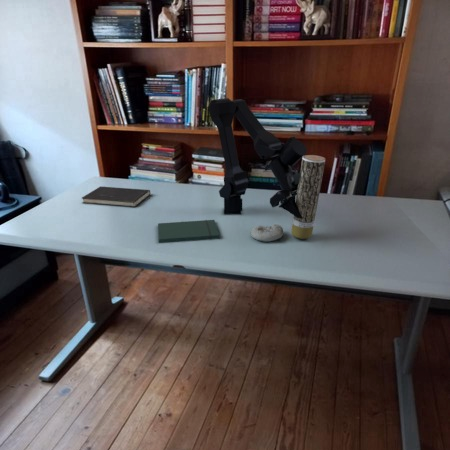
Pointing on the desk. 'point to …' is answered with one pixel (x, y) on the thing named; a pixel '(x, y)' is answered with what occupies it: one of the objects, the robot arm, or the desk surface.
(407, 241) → the desk surface
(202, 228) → the notebook
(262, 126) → the robot arm
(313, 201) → the paper tube
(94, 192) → the hardcover book
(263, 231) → the fossil
